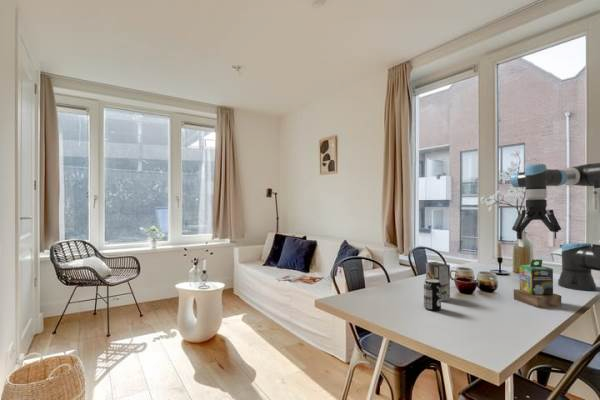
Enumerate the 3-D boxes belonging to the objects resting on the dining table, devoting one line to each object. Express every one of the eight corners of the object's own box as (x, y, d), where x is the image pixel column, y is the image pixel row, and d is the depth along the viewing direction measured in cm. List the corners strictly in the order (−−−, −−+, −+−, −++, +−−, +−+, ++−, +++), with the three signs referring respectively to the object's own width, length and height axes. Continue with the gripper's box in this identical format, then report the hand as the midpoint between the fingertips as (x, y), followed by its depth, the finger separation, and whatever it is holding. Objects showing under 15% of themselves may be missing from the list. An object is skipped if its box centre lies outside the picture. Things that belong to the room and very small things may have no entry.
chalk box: (539, 289, 145) (539, 257, 145) (554, 295, 136) (554, 261, 136) (518, 289, 145) (518, 257, 146) (531, 295, 136) (531, 260, 136)
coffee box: (450, 300, 144) (450, 265, 144) (439, 301, 142) (439, 265, 142) (436, 294, 152) (436, 261, 152) (425, 295, 150) (425, 262, 150)
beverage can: (440, 307, 134) (440, 279, 134) (441, 312, 128) (441, 282, 128) (423, 305, 136) (423, 277, 136) (424, 310, 130) (424, 281, 130)
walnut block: (535, 298, 147) (535, 288, 147) (561, 307, 135) (561, 295, 135) (513, 300, 145) (513, 289, 145) (537, 308, 133) (537, 297, 133)
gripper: (556, 198, 144) (557, 245, 144) (502, 199, 144) (503, 245, 144) (571, 198, 137) (571, 247, 137) (513, 199, 137) (514, 247, 137)
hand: (536, 246), depth 140 cm, fingers open, 13 cm apart
